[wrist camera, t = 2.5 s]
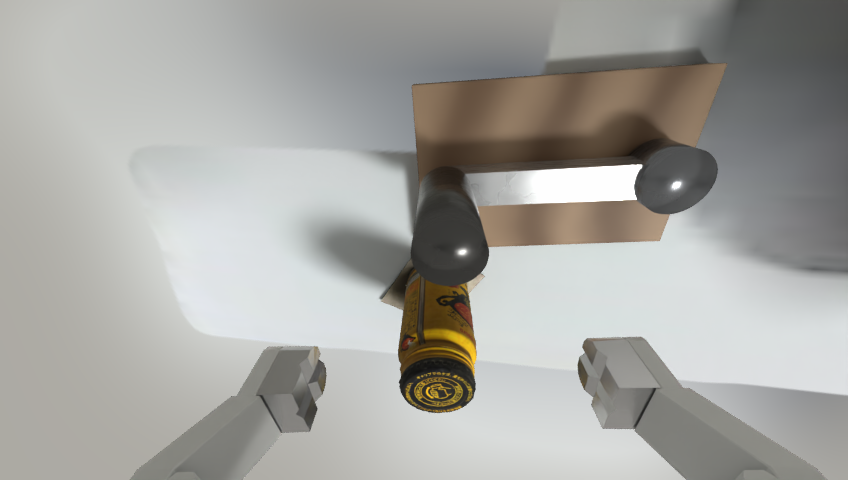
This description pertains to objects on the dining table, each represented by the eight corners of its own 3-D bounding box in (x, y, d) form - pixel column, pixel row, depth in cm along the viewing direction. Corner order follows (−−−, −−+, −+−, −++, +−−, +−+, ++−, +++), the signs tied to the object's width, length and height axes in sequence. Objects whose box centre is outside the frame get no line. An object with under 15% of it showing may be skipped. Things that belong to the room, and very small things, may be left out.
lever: (693, 136, 21) (891, 193, 12) (671, 196, 23) (823, 282, 14) (419, 151, 22) (406, 214, 13) (423, 207, 24) (414, 293, 15)
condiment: (484, 275, 30) (509, 386, 20) (438, 326, 34) (439, 442, 23) (421, 241, 28) (413, 344, 18) (381, 299, 32) (354, 411, 22)
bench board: (709, 63, 20) (727, 63, 19) (648, 232, 27) (659, 240, 26) (413, 84, 22) (411, 85, 20) (424, 240, 28) (424, 249, 27)
